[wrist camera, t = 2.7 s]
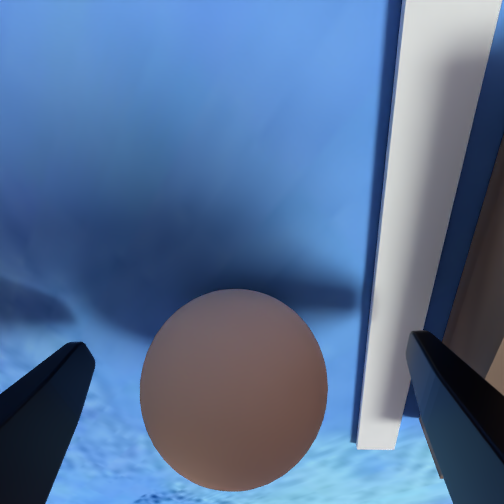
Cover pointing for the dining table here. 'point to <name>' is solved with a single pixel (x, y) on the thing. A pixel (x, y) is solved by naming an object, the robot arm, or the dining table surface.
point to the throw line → (419, 189)
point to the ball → (233, 390)
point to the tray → (482, 293)
